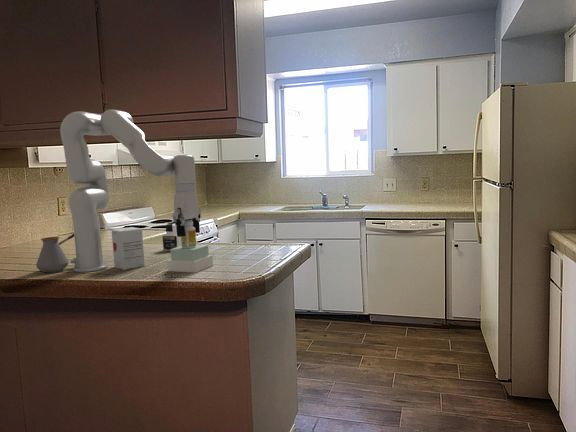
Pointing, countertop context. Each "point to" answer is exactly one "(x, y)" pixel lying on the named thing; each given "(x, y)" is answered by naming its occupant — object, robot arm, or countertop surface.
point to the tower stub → (190, 259)
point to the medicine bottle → (171, 238)
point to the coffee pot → (52, 255)
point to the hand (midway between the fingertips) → (188, 234)
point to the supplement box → (128, 248)
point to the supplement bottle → (189, 235)
